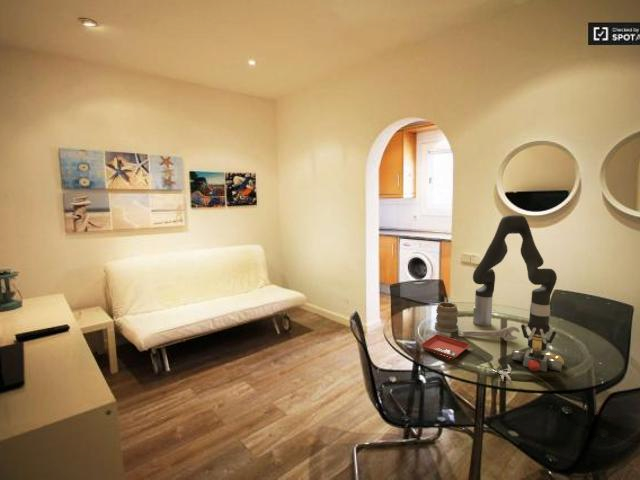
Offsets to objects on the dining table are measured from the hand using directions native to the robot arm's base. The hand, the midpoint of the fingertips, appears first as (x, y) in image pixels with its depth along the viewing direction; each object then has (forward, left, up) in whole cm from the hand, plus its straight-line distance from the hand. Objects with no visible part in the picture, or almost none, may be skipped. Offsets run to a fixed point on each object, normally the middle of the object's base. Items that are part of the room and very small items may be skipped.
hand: (537, 348), depth 158 cm
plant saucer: (-38, -9, -8) cm, 40 cm away
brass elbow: (+4, +9, -6) cm, 12 cm away
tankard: (-48, +22, -8) cm, 53 cm away
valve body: (0, -2, -8) cm, 8 cm away
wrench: (-24, +17, -8) cm, 31 cm away
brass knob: (0, 0, -2) cm, 2 cm away
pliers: (-11, -16, -8) cm, 21 cm away
